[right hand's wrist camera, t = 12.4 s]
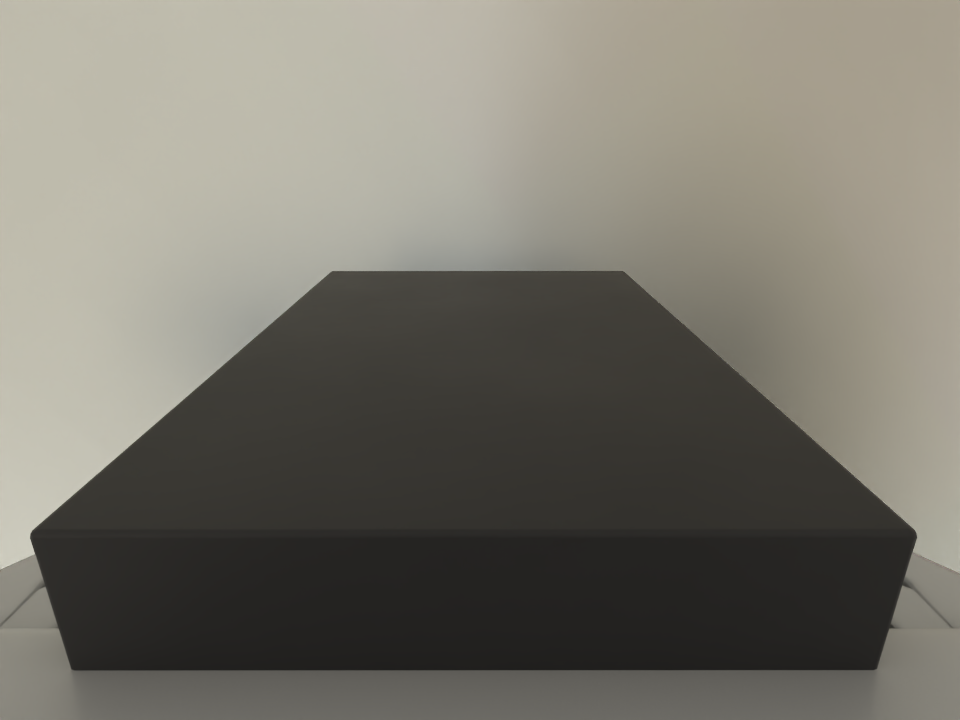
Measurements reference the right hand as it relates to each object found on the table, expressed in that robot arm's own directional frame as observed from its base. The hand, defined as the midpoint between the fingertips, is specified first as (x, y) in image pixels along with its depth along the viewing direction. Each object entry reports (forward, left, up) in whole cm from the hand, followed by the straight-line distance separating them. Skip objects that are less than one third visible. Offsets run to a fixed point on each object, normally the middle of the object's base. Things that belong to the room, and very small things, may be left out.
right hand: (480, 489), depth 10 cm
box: (-1, +8, -4) cm, 9 cm away
